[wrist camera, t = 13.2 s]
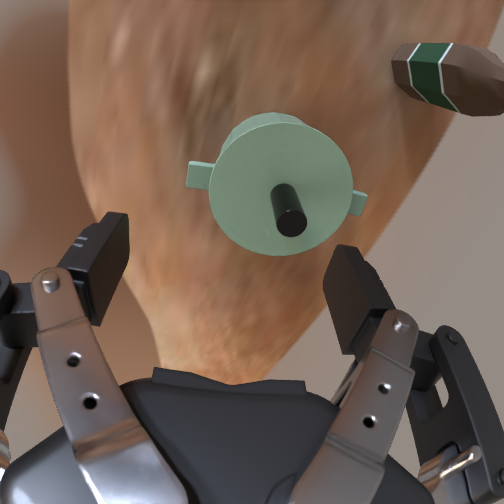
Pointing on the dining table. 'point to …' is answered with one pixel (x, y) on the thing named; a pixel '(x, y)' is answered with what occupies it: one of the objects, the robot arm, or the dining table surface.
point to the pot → (202, 171)
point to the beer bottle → (452, 77)
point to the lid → (280, 189)
